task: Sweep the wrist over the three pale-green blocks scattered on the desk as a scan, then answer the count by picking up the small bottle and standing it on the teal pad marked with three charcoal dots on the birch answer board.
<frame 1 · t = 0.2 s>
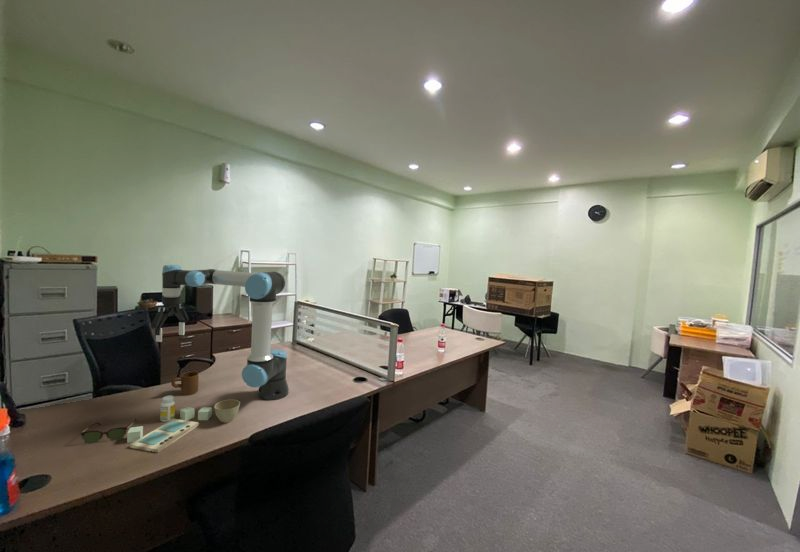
hand: (170, 338, 169), 28 cm above the table, fingers open, 13 cm apart
beige bowl: (226, 420, 149), on the table
sunglasses: (111, 432, 135), on the table
block b: (187, 418, 148), on the table
block a: (204, 418, 149), on the table
mug: (184, 393, 171), on the table
supplement bottle: (167, 419, 146), on the table
answer board: (166, 435, 134), on the table
block c: (135, 439, 130), on the table
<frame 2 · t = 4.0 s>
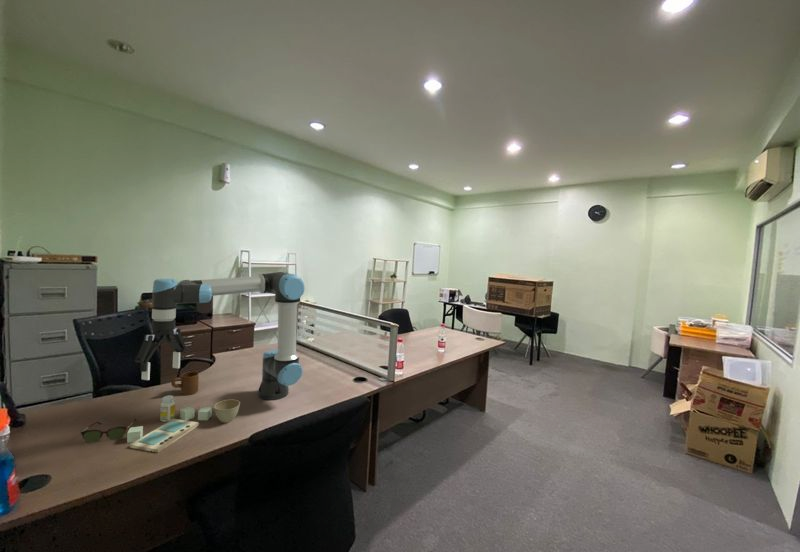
hand: (161, 373, 131), 26 cm above the table, fingers open, 13 cm apart
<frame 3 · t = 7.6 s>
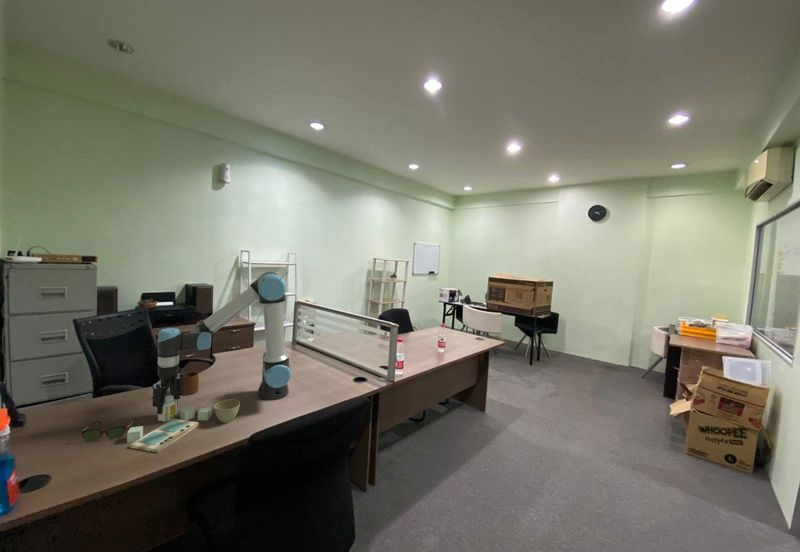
hand: (167, 416, 146), 1 cm above the table, fingers closed on supplement bottle, 5 cm apart
supplement bottle: (167, 419, 146), on the table, touching gripper
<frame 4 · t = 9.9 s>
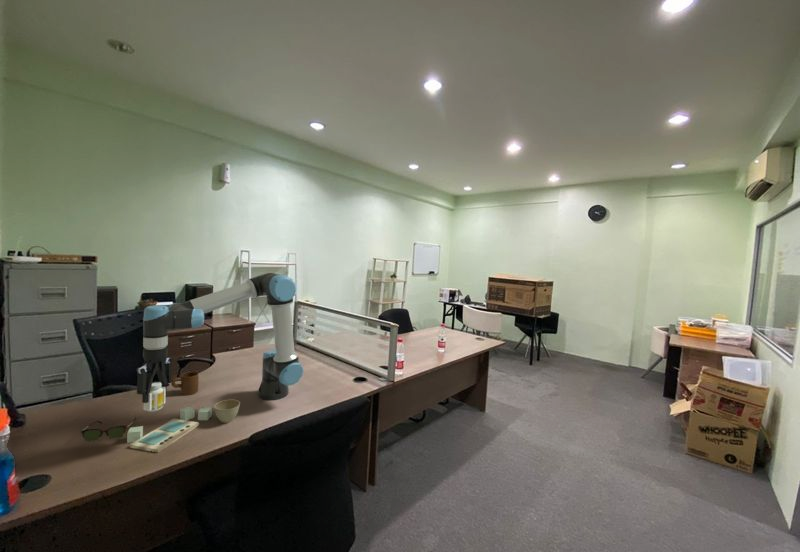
hand: (154, 406, 129), 14 cm above the table, fingers closed on supplement bottle, 5 cm apart
supplement bottle: (154, 408, 129), point 13 cm above the table, touching gripper
when the fingers open (4 cm above the table, at t = 12.4 s): supplement bottle drops 2 cm, resting on answer board.
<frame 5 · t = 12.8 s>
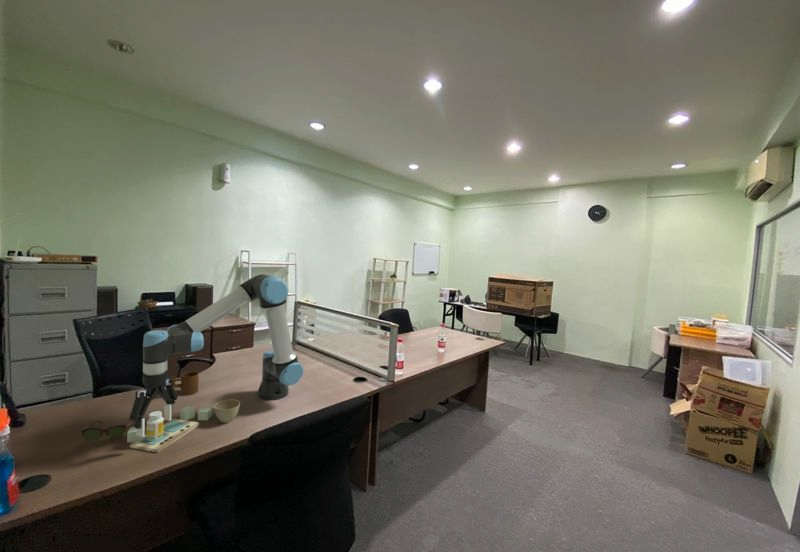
hand: (154, 427, 129), 6 cm above the table, fingers open, 11 cm apart
supplement bottle: (155, 438, 130), point 1 cm above the table, touching answer board
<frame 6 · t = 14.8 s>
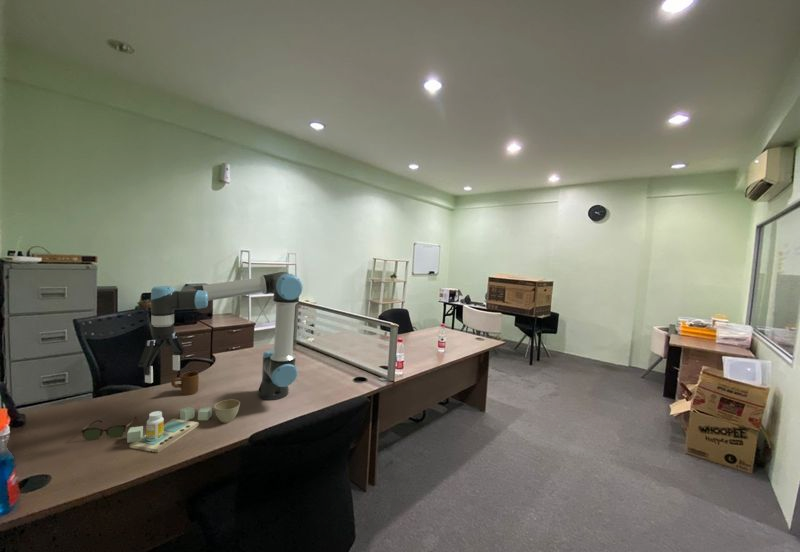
hand: (163, 376, 138), 22 cm above the table, fingers open, 13 cm apart
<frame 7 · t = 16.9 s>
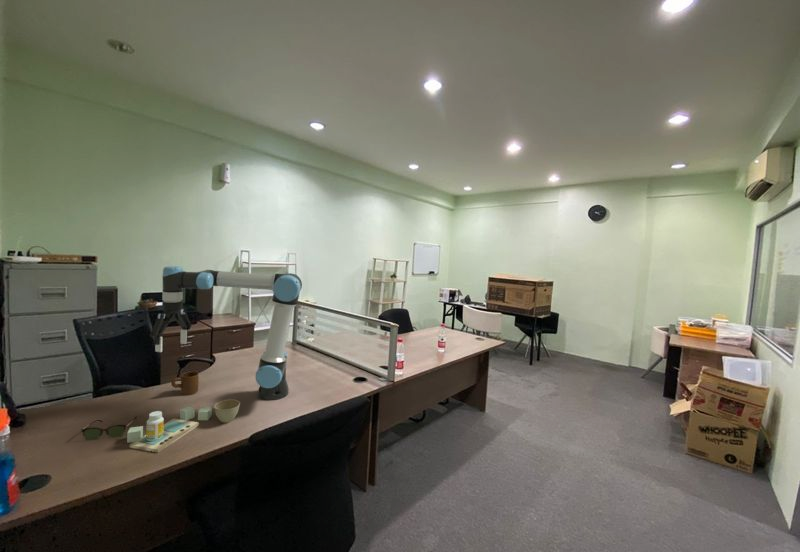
hand: (171, 347, 153), 29 cm above the table, fingers open, 13 cm apart
at the end: supplement bottle inside the target area on the answer board (0.3 cm from its centre), point 1.2 cm above the answer board's base; supplement bottle tilted 0°; the gripper is holding nothing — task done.
